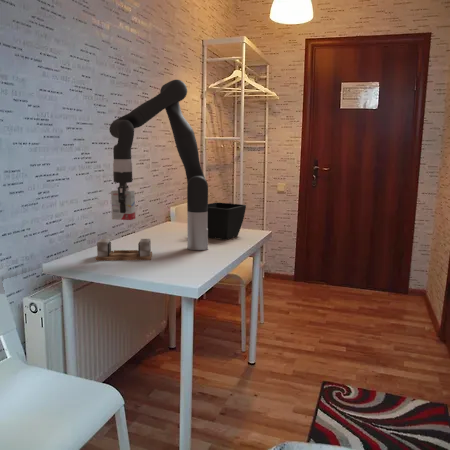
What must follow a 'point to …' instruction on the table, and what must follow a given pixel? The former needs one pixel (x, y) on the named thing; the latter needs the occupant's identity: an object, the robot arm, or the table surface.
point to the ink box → (129, 206)
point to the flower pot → (225, 220)
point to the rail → (123, 251)
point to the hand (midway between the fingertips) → (123, 211)
